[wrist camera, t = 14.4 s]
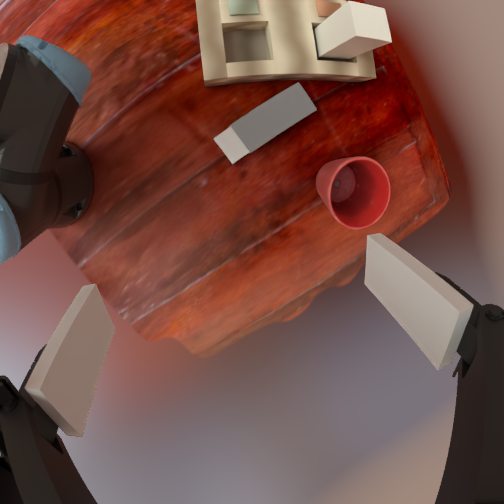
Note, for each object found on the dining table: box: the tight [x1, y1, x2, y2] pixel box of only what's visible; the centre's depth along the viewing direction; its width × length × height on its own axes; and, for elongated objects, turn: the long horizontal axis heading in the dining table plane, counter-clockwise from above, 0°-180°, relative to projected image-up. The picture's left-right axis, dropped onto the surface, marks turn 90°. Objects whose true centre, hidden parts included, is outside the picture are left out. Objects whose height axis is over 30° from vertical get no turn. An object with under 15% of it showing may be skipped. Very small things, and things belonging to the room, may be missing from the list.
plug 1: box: [213, 82, 317, 164], centre depth 40 cm, size 15×5×5 cm, turn 125°
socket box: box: [196, 0, 376, 87], centre depth 33 cm, size 26×14×6 cm, turn 96°
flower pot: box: [316, 157, 391, 230], centre depth 43 cm, size 11×11×10 cm
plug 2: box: [313, 1, 392, 62], centre depth 29 cm, size 5×5×15 cm
